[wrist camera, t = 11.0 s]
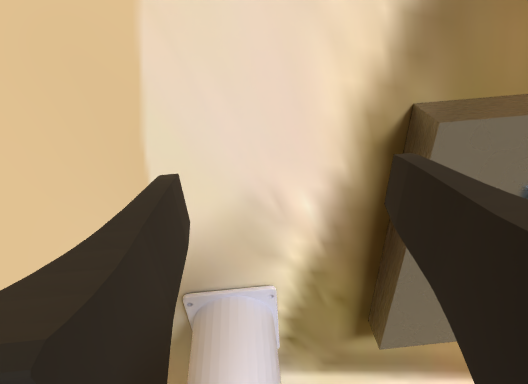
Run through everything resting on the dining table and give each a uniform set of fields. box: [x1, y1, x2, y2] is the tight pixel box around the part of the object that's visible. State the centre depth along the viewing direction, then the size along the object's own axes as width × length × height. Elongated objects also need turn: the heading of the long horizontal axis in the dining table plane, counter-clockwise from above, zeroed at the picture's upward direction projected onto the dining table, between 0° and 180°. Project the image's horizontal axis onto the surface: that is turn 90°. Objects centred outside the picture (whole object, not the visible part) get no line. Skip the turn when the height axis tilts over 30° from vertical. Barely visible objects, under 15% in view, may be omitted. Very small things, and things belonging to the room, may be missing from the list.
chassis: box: [368, 94, 528, 349], centre depth 25 cm, size 22×18×3 cm
